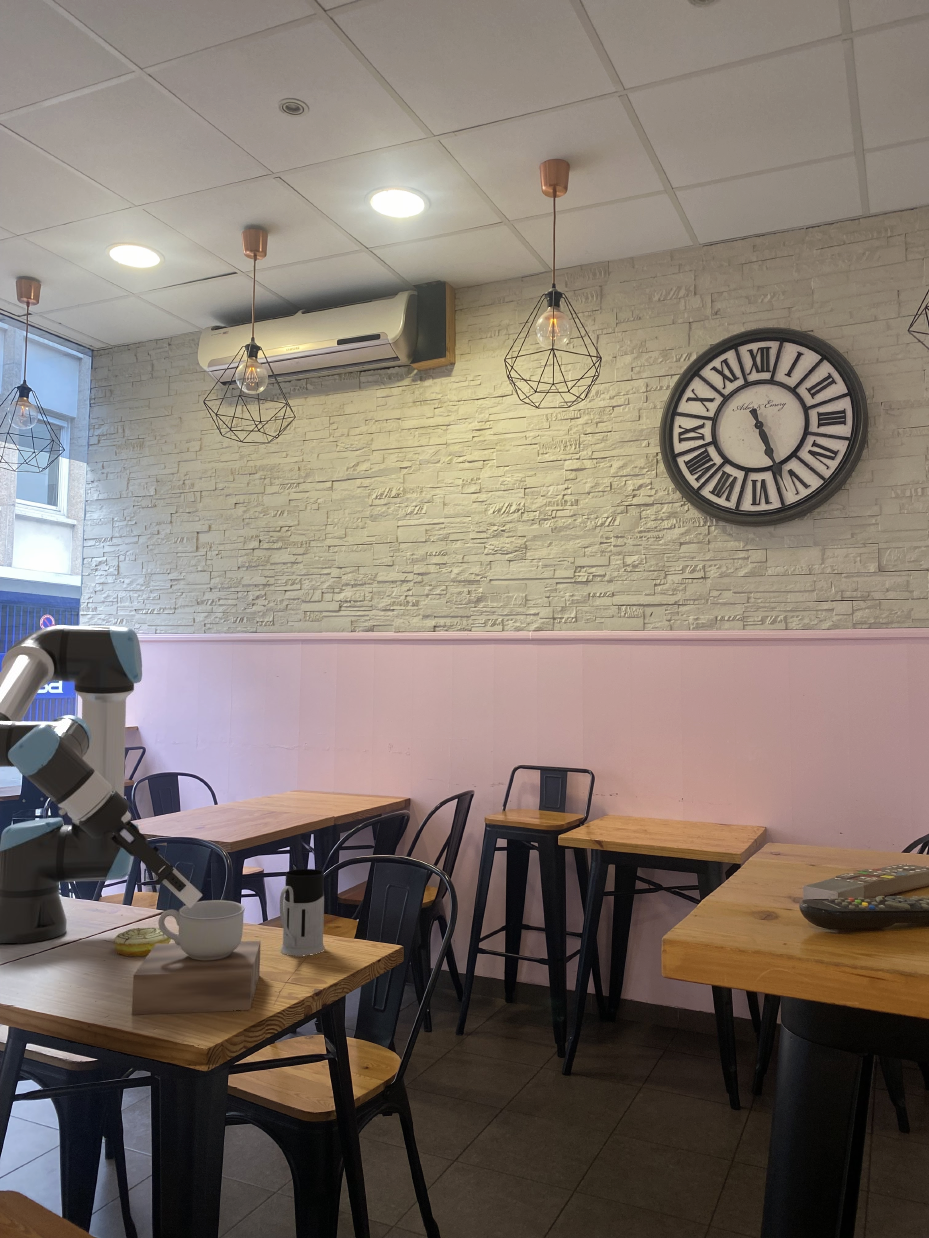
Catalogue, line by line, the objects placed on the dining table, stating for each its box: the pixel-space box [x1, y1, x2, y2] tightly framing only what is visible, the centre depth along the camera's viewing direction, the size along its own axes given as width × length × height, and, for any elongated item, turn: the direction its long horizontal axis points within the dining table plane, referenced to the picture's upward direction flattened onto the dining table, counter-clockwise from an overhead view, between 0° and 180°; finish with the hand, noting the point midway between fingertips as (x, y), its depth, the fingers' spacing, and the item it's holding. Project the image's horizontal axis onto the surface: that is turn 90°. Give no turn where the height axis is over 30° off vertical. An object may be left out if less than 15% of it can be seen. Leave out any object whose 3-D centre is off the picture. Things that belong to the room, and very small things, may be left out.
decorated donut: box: [113, 927, 172, 957], centre depth 173 cm, size 10×11×4 cm
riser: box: [131, 940, 261, 1016], centre depth 147 cm, size 18×18×6 cm
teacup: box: [157, 899, 246, 961], centre depth 149 cm, size 14×11×8 cm
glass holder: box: [279, 868, 326, 957], centre depth 172 cm, size 9×14×15 cm, turn 164°
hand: (187, 892), depth 147 cm, fingers open, 13 cm apart
